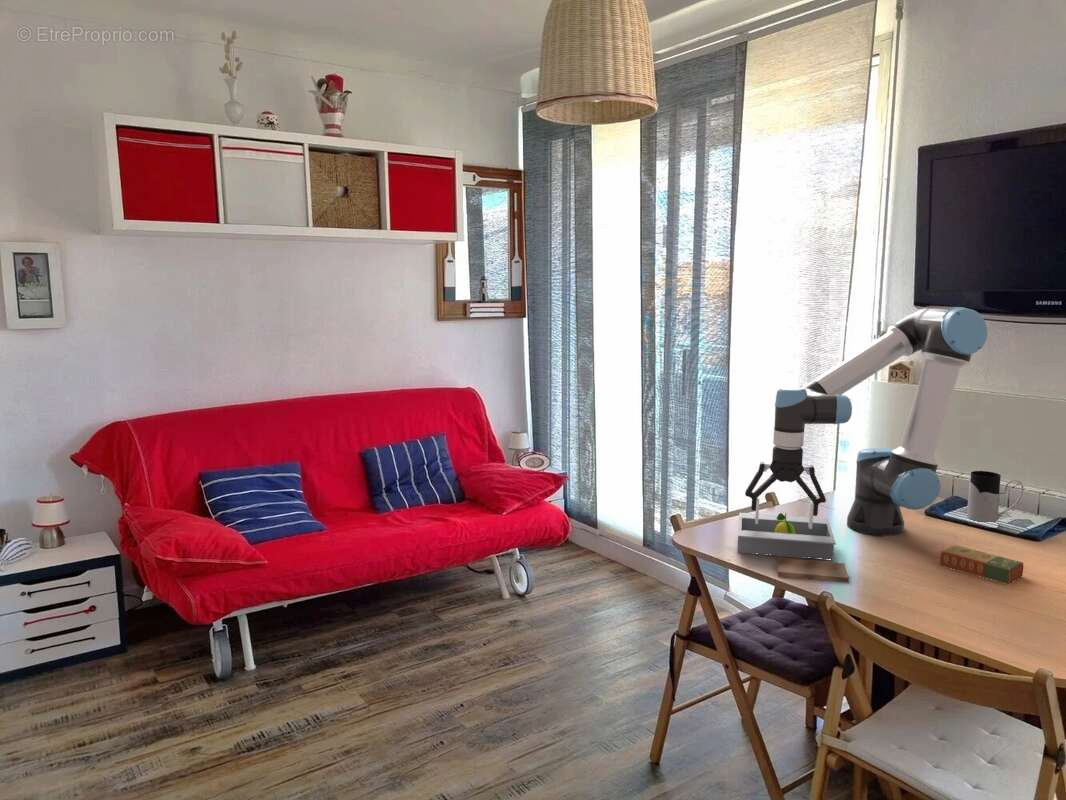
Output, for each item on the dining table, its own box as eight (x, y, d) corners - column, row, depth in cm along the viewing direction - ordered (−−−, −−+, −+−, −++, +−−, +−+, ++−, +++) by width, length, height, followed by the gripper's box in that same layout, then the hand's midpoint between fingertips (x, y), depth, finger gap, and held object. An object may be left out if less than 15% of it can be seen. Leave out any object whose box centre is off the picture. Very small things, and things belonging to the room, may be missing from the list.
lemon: (775, 543, 217) (777, 507, 215) (797, 546, 214) (799, 510, 212) (769, 550, 211) (770, 514, 209) (792, 554, 208) (793, 517, 206)
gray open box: (827, 539, 219) (828, 518, 218) (834, 566, 199) (835, 543, 198) (738, 533, 225) (739, 512, 224) (737, 557, 206) (737, 535, 205)
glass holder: (961, 518, 237) (965, 469, 235) (1014, 522, 233) (1019, 472, 231) (968, 527, 229) (972, 476, 226) (1024, 531, 225) (1029, 479, 223)
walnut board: (844, 567, 198) (844, 563, 198) (848, 582, 189) (848, 577, 188) (776, 562, 202) (777, 557, 202) (778, 576, 193) (778, 571, 193)
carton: (954, 559, 204) (955, 543, 204) (1023, 578, 192) (1024, 561, 191) (939, 567, 199) (940, 550, 199) (1008, 586, 187) (1010, 568, 186)
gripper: (837, 446, 208) (831, 524, 211) (739, 440, 215) (735, 516, 218) (840, 452, 201) (834, 533, 204) (738, 446, 208) (734, 524, 211)
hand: (783, 524), depth 211 cm, fingers open, 13 cm apart
